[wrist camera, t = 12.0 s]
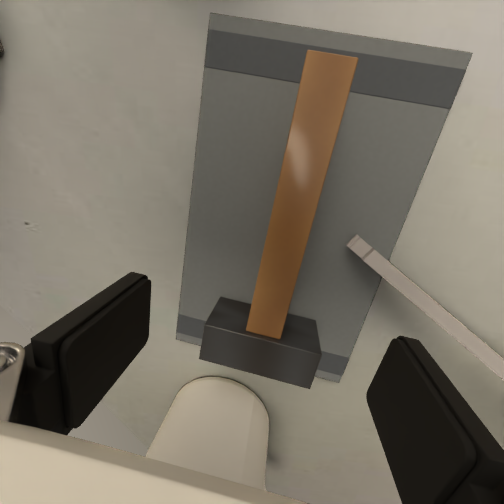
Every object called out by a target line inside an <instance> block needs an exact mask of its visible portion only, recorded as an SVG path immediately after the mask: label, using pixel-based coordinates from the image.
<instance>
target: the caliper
mask: <svg viewBox="0 0 504 504" xmlns="http://www.w3.org/2000/svg"><path fill="white" fill-rule="evenodd" d="M346 245H347V246H348V247H349V248H350V249H351V250H352V251H353V252H355V253H356V254H357V255H358V256H359V257H361V258H362V260H363V261H364V262H366V263H367V264H368V265H369V266H370V267H371V268H373V269H374V270H375V271H376V272H377V273H378V274H380V275H381V276H382V277H383V278H384V279H386V280H387V281H388V282H389V283H390V284H391V285H393V286H394V287H395V288H396V289H397V290H398V291H400V292H401V293H402V294H403V295H404V296H405V297H407V298H408V299H409V300H410V301H411V302H412V303H414V304H415V305H416V306H417V307H418V308H419V309H421V310H422V311H423V312H424V313H425V314H427V315H428V316H429V317H430V318H431V319H432V320H434V321H435V322H436V323H437V324H438V325H439V326H441V327H442V328H443V329H444V330H445V331H446V332H448V333H449V334H450V335H451V336H452V337H454V338H455V339H456V340H457V341H458V342H459V343H461V344H462V345H463V346H464V347H465V348H466V349H468V350H469V351H470V352H471V353H472V354H473V355H475V356H476V357H477V358H478V359H479V360H480V361H482V362H483V363H484V364H485V365H486V366H488V367H489V368H490V369H491V370H492V371H493V372H495V373H496V374H497V375H498V376H499V377H500V378H502V379H503V380H504V358H502V357H501V356H500V355H499V354H498V353H496V352H495V351H494V350H493V349H492V348H491V347H489V346H488V345H487V344H486V343H485V342H483V341H482V340H481V339H480V338H479V337H478V336H476V335H475V334H474V333H473V332H472V331H470V330H469V329H468V328H467V327H466V326H465V325H463V324H462V323H461V322H460V321H459V320H457V319H456V318H455V317H454V316H453V315H452V314H450V313H449V312H448V311H447V310H446V309H444V308H443V307H442V306H441V305H440V304H439V303H437V302H436V301H435V300H434V299H433V298H431V297H430V296H429V295H428V294H427V293H426V292H424V291H423V290H422V289H421V288H420V287H418V286H417V285H416V284H415V283H414V282H413V281H411V280H410V279H409V278H408V277H407V276H405V275H404V274H403V273H402V272H401V271H400V270H398V269H397V268H396V267H395V266H394V265H392V264H391V263H390V262H389V261H388V260H387V259H385V258H384V257H383V256H382V255H381V254H379V253H378V252H377V251H376V250H375V249H374V248H372V247H371V246H370V245H369V244H367V243H366V242H365V241H364V240H363V239H362V238H360V237H359V236H358V235H357V234H356V235H355V236H354V237H353V238H352V239H351V240H350V241H349V242H348V243H347V244H346Z"/></svg>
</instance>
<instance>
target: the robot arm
mask: <svg viewBox="0 0 504 504" xmlns="http://www.w3.org/2000/svg"><path fill="white" fill-rule="evenodd" d="M150 300H151V281H150V280H148V277H147V276H146V275H143V274H139V273H135V272H130V273H128V274H127V275H125V276H124V277H122V278H121V279H119V280H118V281H116V282H115V283H113V284H112V285H110V286H109V287H107V288H106V289H104V290H103V291H101V292H100V293H98V294H97V295H95V296H94V297H92V298H91V299H89V300H88V301H86V302H85V303H83V304H82V305H80V306H79V307H77V308H76V309H74V310H73V311H71V312H70V313H68V314H67V315H65V316H64V317H62V318H61V319H59V320H58V321H56V322H55V323H53V324H52V325H50V326H49V327H47V328H46V329H44V330H43V331H41V332H40V333H38V334H37V335H35V336H34V337H32V338H31V343H30V344H29V345H27V346H25V347H24V348H23V347H22V346H21V345H19V344H16V343H10V342H1V343H0V504H309V503H306V502H302V501H299V500H295V499H292V498H288V497H285V496H281V495H278V494H274V493H271V492H267V491H264V490H261V489H257V488H254V487H250V486H247V485H243V484H240V483H236V482H233V481H229V480H226V479H222V478H219V477H215V476H212V475H208V474H205V473H201V472H198V471H194V470H191V469H187V468H183V467H180V466H176V465H173V464H169V463H165V462H162V461H158V460H155V459H151V458H148V457H144V456H140V455H137V454H133V453H129V452H126V451H122V450H119V449H115V448H112V447H108V446H105V445H101V444H97V443H94V442H90V441H86V440H82V439H78V438H75V437H70V436H67V435H68V433H69V432H70V431H71V430H72V429H73V428H77V427H79V426H80V425H81V424H82V423H83V422H84V421H85V419H86V418H87V417H88V415H89V414H90V413H91V412H92V411H93V409H94V408H95V407H96V406H97V404H98V403H99V402H100V401H101V399H102V398H103V397H104V396H105V394H106V393H107V392H108V391H109V389H110V388H111V387H112V386H113V384H114V383H115V382H116V381H117V379H118V378H119V377H120V376H121V374H122V373H123V372H124V371H125V369H126V368H127V367H128V366H129V364H130V363H131V362H132V361H133V359H134V358H135V357H136V356H137V354H138V353H139V352H140V351H141V349H142V348H143V347H144V346H145V344H146V342H147V340H148V337H149V320H150ZM367 403H368V406H369V409H370V412H371V414H372V417H373V420H374V423H375V426H376V429H377V432H378V435H379V438H380V441H381V443H382V446H383V449H384V452H385V455H386V458H387V461H388V464H389V467H390V469H391V472H392V475H393V478H394V481H395V484H396V487H397V490H398V493H399V495H400V498H401V501H402V504H504V450H503V449H502V447H501V446H500V445H499V444H498V442H497V441H496V440H495V438H494V437H493V436H492V434H491V433H490V432H489V431H488V429H487V428H486V427H485V425H484V424H483V423H482V421H481V420H480V419H479V418H478V416H477V415H476V414H475V412H474V411H473V410H472V408H471V407H470V406H469V405H468V403H467V402H466V401H465V399H464V398H463V397H462V395H461V394H460V393H459V392H458V390H457V389H456V388H455V386H454V385H453V384H452V383H451V381H450V380H449V379H448V377H447V376H446V375H445V373H444V372H443V371H442V370H441V368H440V367H439V366H438V364H437V363H436V362H435V360H434V359H433V358H432V357H431V355H430V354H429V353H428V351H427V350H426V349H425V347H424V346H423V345H422V344H421V342H420V341H419V340H416V339H412V338H408V337H404V336H399V337H397V339H393V340H392V341H391V343H390V345H389V347H388V349H387V351H386V353H385V355H384V357H383V359H382V361H381V364H380V366H379V368H378V370H377V372H376V374H375V376H374V378H373V380H372V382H371V384H370V386H369V389H368V391H367Z"/></svg>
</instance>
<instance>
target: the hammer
mask: <svg viewBox="0 0 504 504" xmlns="http://www.w3.org/2000/svg"><path fill="white" fill-rule="evenodd" d="M357 63H358V58H357V57H351V56H345V55H339V54H332V53H326V52H320V51H314V50H307V53H306V58H305V62H304V67H303V71H302V76H301V80H300V85H299V90H298V94H297V99H296V103H295V108H294V112H293V117H292V122H291V126H290V131H289V135H288V140H287V144H286V149H285V153H284V158H283V163H282V167H281V172H280V176H279V181H278V185H277V190H276V195H275V199H274V204H273V208H272V213H271V217H270V222H269V226H268V231H267V236H266V240H265V245H264V249H263V254H262V258H261V263H260V268H259V272H258V277H257V281H256V286H255V290H254V295H253V299H252V304H248V303H244V302H240V301H236V300H232V299H228V298H224V297H220V298H219V300H218V301H217V303H216V305H215V307H214V308H213V310H212V312H211V314H210V315H209V317H208V319H207V321H206V322H205V324H204V330H203V337H202V343H201V350H200V357H199V359H201V360H205V361H209V362H212V363H216V364H220V365H223V366H227V367H231V368H234V369H238V370H242V371H245V372H249V373H253V374H256V375H260V376H264V377H267V378H271V379H275V380H278V381H282V382H286V383H289V384H293V385H297V386H300V387H304V388H308V389H310V387H311V385H312V382H313V379H314V376H315V373H316V371H317V368H318V365H319V362H320V359H321V357H322V352H321V346H320V341H319V335H318V330H317V324H316V320H313V319H309V318H305V317H301V316H297V315H293V314H289V313H288V310H289V306H290V303H291V299H292V295H293V292H294V288H295V285H296V281H297V278H298V274H299V270H300V267H301V263H302V260H303V256H304V253H305V249H306V245H307V242H308V238H309V235H310V231H311V227H312V224H313V220H314V217H315V213H316V210H317V206H318V202H319V199H320V195H321V192H322V188H323V185H324V181H325V177H326V174H327V170H328V167H329V163H330V159H331V156H332V152H333V149H334V145H335V142H336V138H337V134H338V131H339V127H340V124H341V120H342V117H343V113H344V109H345V106H346V102H347V99H348V95H349V92H350V88H351V84H352V81H353V77H354V74H355V70H356V66H357Z"/></svg>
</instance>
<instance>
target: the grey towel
mask: <svg viewBox="0 0 504 504" xmlns="http://www.w3.org/2000/svg"><path fill="white" fill-rule="evenodd" d="M307 50H314V51H320V52H326V53H332V54H339V55H345V56H351V57H357V58H358V63H357V66H356V70H355V74H354V77H353V81H352V84H351V88H350V92H349V95H348V99H347V102H346V106H345V109H344V113H343V117H342V120H341V124H340V127H339V131H338V134H337V138H336V142H335V145H334V149H333V152H332V156H331V159H330V163H329V167H328V170H327V174H326V177H325V181H324V185H323V188H322V192H321V195H320V199H319V202H318V206H317V210H316V213H315V217H314V220H313V224H312V227H311V231H310V235H309V238H308V242H307V245H306V249H305V253H304V256H303V260H302V263H301V267H300V270H299V274H298V278H297V281H296V285H295V288H294V292H293V295H292V299H291V303H290V306H289V310H288V313H289V314H293V315H297V316H301V317H305V318H309V319H313V320H316V324H317V330H318V335H319V341H320V346H321V352H322V357H321V359H320V362H319V365H318V368H317V371H316V373H315V376H316V377H319V378H323V379H327V380H330V381H334V382H338V383H339V382H340V380H341V377H342V375H343V373H344V370H345V368H346V365H347V363H348V360H349V357H350V355H351V352H352V350H353V348H354V345H355V343H356V340H357V338H358V335H359V333H360V330H361V328H362V325H363V323H364V320H365V318H366V315H367V313H368V310H369V308H370V306H371V303H372V301H373V298H374V296H375V293H376V291H377V288H378V286H379V283H380V281H381V278H382V276H381V275H380V274H378V273H377V272H376V271H375V270H374V269H373V268H371V267H370V266H369V265H368V264H367V263H366V262H364V261H363V260H362V258H361V257H359V256H358V255H357V254H356V253H355V252H353V251H352V250H351V249H350V248H349V247H348V246H347V245H346V244H347V243H348V242H349V241H350V240H351V239H352V238H353V237H354V236H355V235H356V234H357V235H358V236H359V237H360V238H362V239H363V240H364V241H365V242H366V243H367V244H369V245H370V246H371V247H372V248H374V249H375V250H376V251H377V252H378V253H379V254H381V255H382V256H383V257H384V258H385V259H387V260H388V261H389V259H390V256H391V254H392V251H393V249H394V246H395V244H396V241H397V239H398V236H399V234H400V231H401V229H402V227H403V224H404V222H405V219H406V217H407V214H408V212H409V209H410V207H411V204H412V202H413V199H414V197H415V194H416V192H417V190H418V187H419V185H420V182H421V180H422V177H423V175H424V172H425V170H426V167H427V165H428V162H429V160H430V157H431V155H432V152H433V150H434V148H435V145H436V143H437V140H438V138H439V135H440V133H441V130H442V128H443V125H444V123H445V120H446V118H447V115H448V113H449V111H450V108H451V106H452V104H453V101H454V99H455V96H456V94H457V92H458V89H459V87H460V84H461V82H462V79H463V77H464V74H465V72H466V69H467V66H468V64H469V61H470V59H471V56H472V53H471V52H465V51H458V50H452V49H445V48H438V47H432V46H425V45H419V44H412V43H406V42H399V41H393V40H386V39H380V38H373V37H367V36H360V35H353V34H347V33H340V32H334V31H327V30H321V29H314V28H308V27H301V26H295V25H288V24H282V23H275V22H268V21H262V20H255V19H249V18H242V17H236V16H229V15H223V14H216V13H210V20H209V29H208V37H207V46H206V56H205V65H204V66H205V67H204V77H203V86H202V96H201V105H200V115H199V124H198V133H197V143H196V152H195V162H194V171H193V181H192V190H191V200H190V209H189V219H188V228H187V238H186V247H185V257H184V266H183V276H182V285H181V294H180V304H179V313H178V321H177V331H176V339H177V340H181V341H185V342H188V343H192V344H196V345H200V346H201V343H202V337H203V330H204V324H205V322H206V321H207V319H208V317H209V315H210V314H211V312H212V310H213V308H214V307H215V305H216V303H217V301H218V300H219V298H220V297H224V298H228V299H232V300H236V301H240V302H244V303H248V304H252V299H253V295H254V290H255V286H256V281H257V277H258V272H259V268H260V263H261V258H262V254H263V249H264V245H265V240H266V236H267V231H268V226H269V222H270V217H271V213H272V208H273V204H274V199H275V195H276V190H277V185H278V181H279V176H280V172H281V167H282V163H283V158H284V153H285V149H286V144H287V140H288V135H289V131H290V126H291V122H292V117H293V112H294V108H295V103H296V99H297V94H298V90H299V85H300V80H301V76H302V71H303V67H304V62H305V58H306V53H307Z"/></svg>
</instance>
